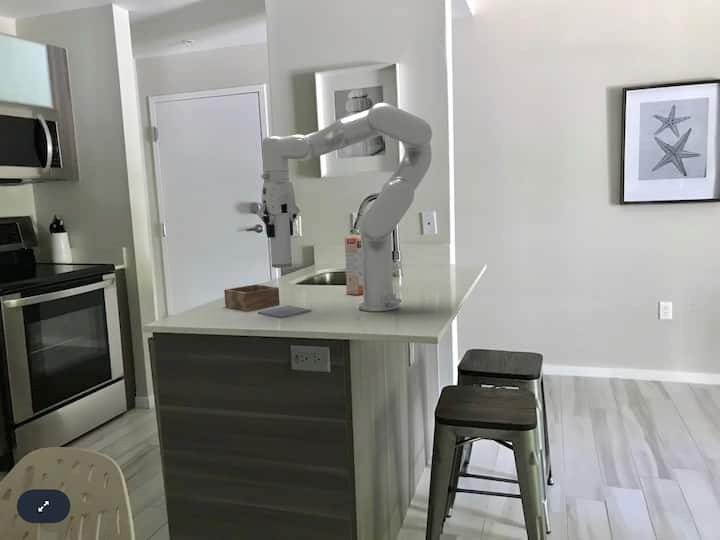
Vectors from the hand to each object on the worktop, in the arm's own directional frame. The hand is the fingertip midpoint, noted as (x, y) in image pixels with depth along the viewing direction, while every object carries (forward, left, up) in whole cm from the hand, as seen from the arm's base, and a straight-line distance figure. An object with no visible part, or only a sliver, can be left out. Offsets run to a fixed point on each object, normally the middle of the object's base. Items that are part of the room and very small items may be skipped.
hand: (280, 235), depth 179 cm
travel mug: (0, 0, -10) cm, 10 cm away
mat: (0, 0, -24) cm, 24 cm away
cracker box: (+5, -40, -25) cm, 47 cm away
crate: (+18, 0, -24) cm, 30 cm away
